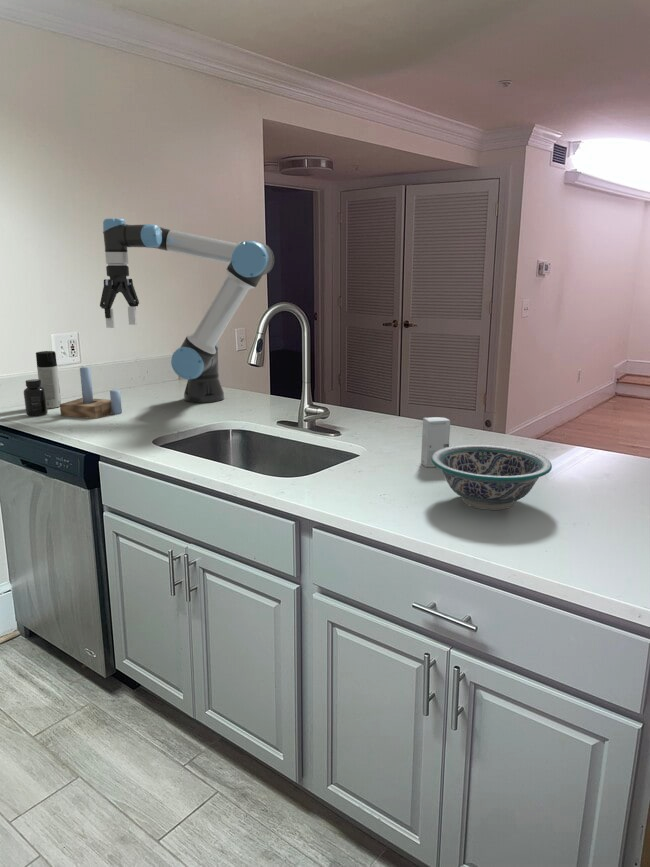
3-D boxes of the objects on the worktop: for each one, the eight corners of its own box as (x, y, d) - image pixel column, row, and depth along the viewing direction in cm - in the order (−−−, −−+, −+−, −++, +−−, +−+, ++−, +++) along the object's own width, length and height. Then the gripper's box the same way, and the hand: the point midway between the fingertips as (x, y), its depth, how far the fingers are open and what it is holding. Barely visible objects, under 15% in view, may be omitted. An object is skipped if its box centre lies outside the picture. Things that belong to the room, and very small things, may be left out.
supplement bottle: (51, 412, 227) (48, 378, 224) (41, 417, 221) (37, 382, 218) (32, 412, 228) (29, 378, 225) (22, 416, 222) (18, 381, 219)
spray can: (65, 406, 238) (59, 351, 233) (48, 409, 232) (42, 353, 227) (53, 404, 241) (48, 350, 236) (37, 407, 236) (31, 352, 231)
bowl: (495, 533, 125) (498, 486, 123) (405, 497, 144) (407, 455, 142) (572, 506, 139) (576, 463, 137) (481, 476, 159) (484, 438, 156)
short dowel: (123, 412, 228) (122, 390, 226) (118, 414, 224) (116, 391, 222) (115, 412, 229) (113, 389, 227) (109, 414, 225) (107, 391, 223)
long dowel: (96, 412, 227) (92, 367, 223) (90, 414, 224) (86, 368, 220) (88, 412, 228) (84, 366, 224) (81, 414, 225) (77, 368, 221)
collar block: (117, 411, 230) (116, 400, 229) (95, 418, 219) (94, 406, 218) (83, 408, 234) (82, 397, 233) (60, 415, 223) (59, 404, 222)
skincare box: (426, 467, 166) (428, 421, 162) (420, 462, 170) (421, 417, 167) (449, 466, 167) (451, 420, 164) (442, 461, 171) (444, 416, 168)
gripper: (128, 265, 241) (132, 323, 246) (85, 264, 218) (91, 328, 223) (146, 265, 239) (150, 323, 244) (104, 264, 216) (109, 329, 221)
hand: (121, 326), depth 234 cm, fingers open, 13 cm apart
